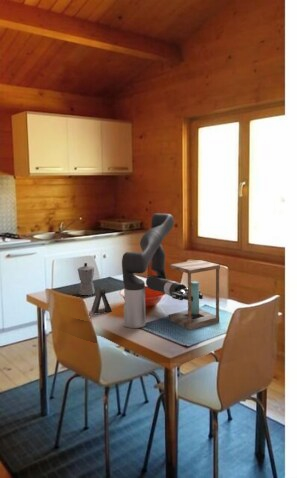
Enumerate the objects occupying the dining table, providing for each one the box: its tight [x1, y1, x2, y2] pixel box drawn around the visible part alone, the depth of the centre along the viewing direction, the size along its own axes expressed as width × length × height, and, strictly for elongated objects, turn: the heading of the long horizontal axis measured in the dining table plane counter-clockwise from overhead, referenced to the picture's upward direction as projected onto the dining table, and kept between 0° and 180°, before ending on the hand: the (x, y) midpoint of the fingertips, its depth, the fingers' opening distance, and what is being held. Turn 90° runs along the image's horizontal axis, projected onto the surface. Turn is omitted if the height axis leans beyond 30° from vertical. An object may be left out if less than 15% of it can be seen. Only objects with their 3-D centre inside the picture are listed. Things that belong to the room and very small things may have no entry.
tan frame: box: [167, 259, 221, 331], centre depth 198 cm, size 16×17×27 cm
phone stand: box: [90, 286, 113, 314], centre depth 216 cm, size 9×6×12 cm, turn 111°
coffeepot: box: [77, 262, 96, 296], centre depth 248 cm, size 15×9×18 cm, turn 12°
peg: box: [191, 280, 200, 314], centre depth 198 cm, size 5×5×14 cm
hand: (197, 298), depth 196 cm, fingers closed on peg, 5 cm apart
